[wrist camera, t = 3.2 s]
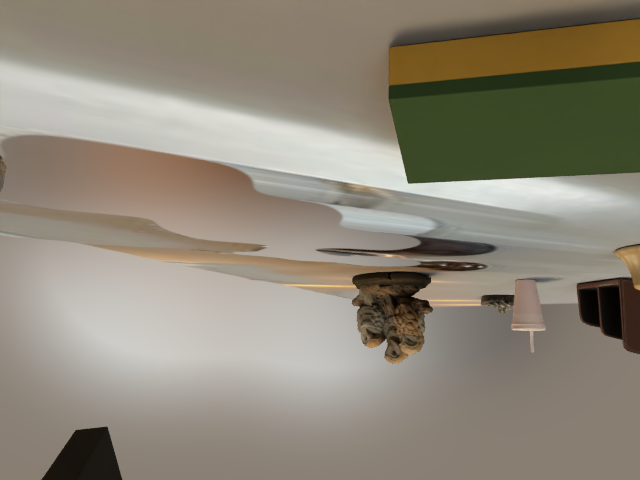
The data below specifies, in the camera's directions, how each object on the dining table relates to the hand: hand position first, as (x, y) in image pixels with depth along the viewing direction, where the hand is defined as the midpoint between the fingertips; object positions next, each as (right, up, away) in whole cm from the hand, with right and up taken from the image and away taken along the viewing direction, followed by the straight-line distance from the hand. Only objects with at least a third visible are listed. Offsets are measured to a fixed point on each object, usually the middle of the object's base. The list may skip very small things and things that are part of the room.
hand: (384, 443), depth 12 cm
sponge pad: (+13, +14, +18) cm, 26 cm away
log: (+45, -10, +118) cm, 126 cm away
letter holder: (+61, -4, +90) cm, 109 cm away
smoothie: (+40, -3, +89) cm, 98 cm away
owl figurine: (+13, -2, +90) cm, 91 cm away
